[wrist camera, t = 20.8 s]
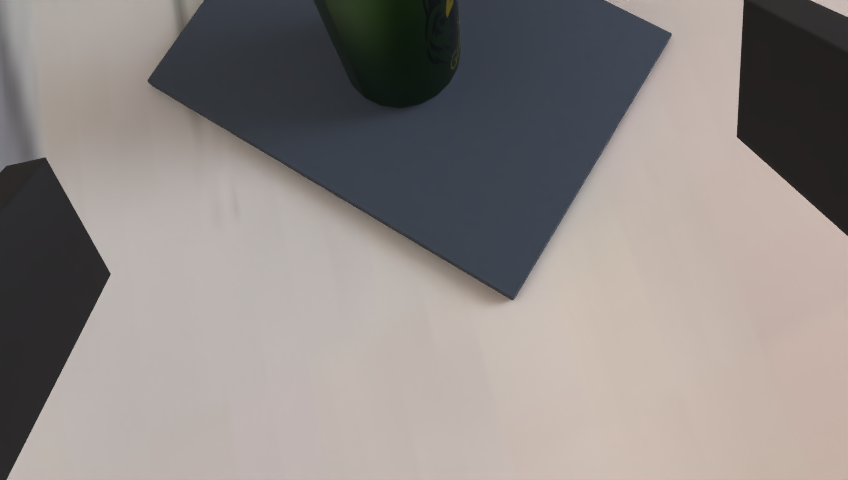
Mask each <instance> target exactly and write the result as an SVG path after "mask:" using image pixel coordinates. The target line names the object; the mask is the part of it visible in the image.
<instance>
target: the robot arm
mask: <svg viewBox="0 0 848 480" xmlns="http://www.w3.org/2000/svg"><path fill="white" fill-rule="evenodd" d="M737 137H738V138H739V139H740V140H741V141H742V142H743V143H744V144H745V145H747V146H748V147H749V148H750V149H751V150H752V151H753V152H754V153H756V154H757V155H758V156H759V157H760V158H761V159H762V160H763V161H764V162H766V163H767V164H768V165H769V166H770V167H771V168H772V169H773V170H775V171H776V172H777V173H778V174H779V175H780V176H781V177H782V178H784V179H785V180H786V181H787V182H788V183H789V184H790V185H791V186H792V187H794V188H795V189H796V190H797V191H798V192H799V193H800V194H801V195H803V196H804V197H805V198H806V199H807V200H808V201H809V202H810V203H811V204H813V205H814V206H815V207H816V208H817V209H818V210H819V211H820V212H822V213H823V214H824V215H825V216H826V217H827V218H828V219H829V220H830V221H832V222H833V223H834V224H835V225H836V226H837V227H838V228H839V229H841V230H842V231H843V232H844V233H845V234H846V235H847V236H848V17H846V16H844V15H842V14H839V13H837V12H835V11H833V10H830V9H828V8H826V7H824V6H822V5H819V4H817V3H815V2H813V1H811V0H744V8H743V27H742V47H741V67H740V86H739V106H738V125H737ZM109 276H110V272H109V270H108V268H107V267H106V265H105V263H104V261H103V259H102V258H101V256H100V254H99V252H98V250H97V249H96V247H95V245H94V243H93V242H92V240H91V238H90V236H89V234H88V233H87V231H86V229H85V227H84V225H83V224H82V222H81V220H80V218H79V217H78V215H77V213H76V211H75V209H74V208H73V206H72V204H71V202H70V200H69V199H68V197H67V195H66V193H65V192H64V190H63V188H62V186H61V184H60V183H59V181H58V179H57V177H56V175H55V174H54V172H53V170H52V168H51V167H50V165H49V163H48V161H47V159H46V158H41V159H36V160H32V161H27V162H23V163H19V164H14V165H10V166H6V167H5V168H4V169H3V170H2V171H1V172H0V480H7V478H8V476H9V474H10V472H11V470H12V468H13V466H14V464H15V462H16V460H17V458H18V456H19V454H20V452H21V450H22V448H23V446H24V444H25V442H26V440H27V438H28V436H29V434H30V432H31V430H32V428H33V426H34V424H35V422H36V420H37V418H38V416H39V414H40V412H41V410H42V409H43V407H44V405H45V403H46V401H47V399H48V397H49V395H50V393H51V391H52V389H53V387H54V385H55V383H56V381H57V379H58V377H59V375H60V373H61V371H62V369H63V367H64V365H65V363H66V361H67V359H68V357H69V355H70V353H71V351H72V349H73V347H74V345H75V343H76V341H77V340H78V338H79V336H80V334H81V332H82V330H83V328H84V326H85V324H86V322H87V320H88V318H89V316H90V314H91V312H92V310H93V308H94V306H95V304H96V302H97V300H98V298H99V296H100V294H101V292H102V290H103V288H104V286H105V284H106V282H107V280H108V278H109Z"/></svg>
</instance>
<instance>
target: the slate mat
mask: <svg viewBox="0 0 848 480" xmlns="http://www.w3.org/2000/svg"><path fill="white" fill-rule="evenodd" d="M458 13H459V27H460V42H461V53H460V59H459V65H458V69H457V70H456V72H455V74H454V76H453V78H452V80H451V81H450V83H449V84H448V85H447V86H446V87H445V88H444V89H443V90H442V91H441V92H440V93H439V94H438V95H437V96H436V97H434V98H432V99H430V100H428V101H426V102H424V103H422V104H420V105H417V106H411V107H405V108H396V107H388V106H381V105H379V104H377V103H375V102H373V101H370V100H368V99H366V98H365V97H363V96H362V95H361V94H360V93H359V92H358V91H357V90H356V89H355V88H354V87H353V86H352V84H351V82H350V80H349V78H348V76H347V75H346V73H345V71H344V68H343V66H342V64H341V62H340V59H339V57H338V55H337V53H336V50H335V48H334V46H333V44H332V41H331V39H330V37H329V35H328V32H327V30H326V28H325V25H324V23H323V21H322V19H321V16H320V14H319V12H318V10H317V7H316V5H315V3H314V1H313V0H204V2H203V3H202V4H201V6H200V7H199V9H198V10H197V12H196V13H195V14H194V16H193V17H192V19H191V20H190V21H189V23H188V24H187V26H186V27H185V28H184V30H183V31H182V33H181V34H180V35H179V37H178V38H177V40H176V41H175V42H174V44H173V45H172V47H171V48H170V49H169V51H168V52H167V54H166V55H165V56H164V58H163V59H162V61H161V62H160V64H159V65H158V66H157V68H156V69H155V71H154V72H153V73H152V75H151V76H150V78H149V79H148V82H149V83H150V84H151V85H152V86H153V87H155V88H157V89H159V90H160V91H162V92H164V93H165V94H167V95H169V96H170V97H172V98H174V99H175V100H177V101H179V102H180V103H182V104H184V105H185V106H187V107H189V108H190V109H192V110H194V111H195V112H197V113H199V114H200V115H202V116H204V117H206V118H207V119H209V120H211V121H212V122H214V123H216V124H217V125H219V126H221V127H222V128H224V129H226V130H227V131H229V132H231V133H232V134H234V135H236V136H237V137H239V138H241V139H242V140H244V141H246V142H247V143H249V144H251V145H253V146H254V147H256V148H258V149H259V150H261V151H263V152H264V153H266V154H268V155H269V156H271V157H273V158H274V159H276V160H278V161H279V162H281V163H283V164H284V165H286V166H288V167H289V168H291V169H293V170H294V171H296V172H298V173H300V174H301V175H303V176H305V177H306V178H308V179H310V180H311V181H313V182H315V183H316V184H318V185H320V186H321V187H323V188H325V189H326V190H328V191H330V192H331V193H333V194H335V195H336V196H338V197H340V198H341V199H343V200H345V201H347V202H348V203H350V204H352V205H353V206H355V207H357V208H358V209H360V210H362V211H363V212H365V213H367V214H368V215H370V216H372V217H373V218H375V219H377V220H378V221H380V222H382V223H383V224H385V225H387V226H388V227H390V228H392V229H394V230H395V231H397V232H399V233H400V234H402V235H404V236H405V237H407V238H409V239H410V240H412V241H414V242H415V243H417V244H419V245H420V246H422V247H424V248H425V249H427V250H429V251H430V252H432V253H434V254H435V255H437V256H439V257H441V258H442V259H444V260H446V261H447V262H449V263H451V264H452V265H454V266H456V267H457V268H459V269H461V270H462V271H464V272H466V273H467V274H469V275H471V276H472V277H474V278H476V279H477V280H479V281H481V282H482V283H484V284H486V285H488V286H489V287H491V288H493V289H494V290H496V291H498V292H499V293H501V294H503V295H504V296H506V297H508V298H509V299H511V300H514V298H515V297H516V295H517V293H518V292H519V290H520V288H521V287H522V285H523V283H524V282H525V280H526V278H527V277H528V275H529V273H530V272H531V270H532V268H533V267H534V265H535V263H536V262H537V260H538V258H539V257H540V255H541V253H542V252H543V250H544V248H545V247H546V245H547V243H548V242H549V240H550V238H551V237H552V235H553V233H554V232H555V230H556V228H557V226H558V225H559V223H560V221H561V220H562V218H563V216H564V215H565V213H566V211H567V210H568V208H569V206H570V205H571V203H572V201H573V200H574V198H575V196H576V195H577V193H578V191H579V190H580V188H581V186H582V185H583V183H584V181H585V180H586V178H587V176H588V175H589V173H590V171H591V170H592V168H593V166H594V165H595V163H596V161H597V160H598V158H599V156H600V155H601V153H602V151H603V150H604V148H605V146H606V145H607V143H608V141H609V140H610V138H611V136H612V135H613V133H614V131H615V129H616V128H617V126H618V124H619V123H620V121H621V119H622V118H623V116H624V114H625V113H626V111H627V109H628V108H629V106H630V104H631V103H632V101H633V99H634V98H635V96H636V94H637V93H638V91H639V89H640V88H641V86H642V84H643V83H644V81H645V79H646V78H647V76H648V74H649V73H650V71H651V69H652V68H653V66H654V64H655V63H656V61H657V59H658V58H659V56H660V54H661V53H662V51H663V49H664V48H665V46H666V44H667V43H668V41H669V39H670V37H671V35H672V34H671V33H669V32H667V31H665V30H663V29H661V28H659V27H657V26H655V25H653V24H651V23H649V22H647V21H645V20H643V19H641V18H639V17H637V16H635V15H633V14H631V13H629V12H627V11H625V10H623V9H621V8H619V7H617V6H615V5H613V4H611V3H609V2H607V1H605V0H458Z"/></svg>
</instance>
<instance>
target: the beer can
mask: <svg viewBox="0 0 848 480" xmlns="http://www.w3.org/2000/svg"><path fill="white" fill-rule="evenodd" d="M313 1H314V3H315V5H316V7H317V10H318V12H319V14H320V16H321V19H322V21H323V23H324V25H325V28H326V30H327V32H328V35H329V37H330V39H331V41H332V44H333V46H334V48H335V50H336V53H337V55H338V57H339V59H340V62H341V64H342V66H343V68H344V71H345V73H346V75H347V76H348V78H349V80H350V82H351V84H352V86H353V87H354V88H355V89H356V90H357V91H358V92H359V93H360V94H361V95H362V96H363V97H365V98H366V99H368V100H370V101H373V102H375V103H377V104H379V105H381V106H388V107H396V108H405V107H411V106H417V105H420V104H422V103H424V102H426V101H428V100H430V99H432V98H434V97H436V96H437V95H438V94H439V93H440V92H441V91H442V90H443V89H444V88H445V87H446V86H447V85H448V84H449V83H450V81H451V80H452V78H453V76H454V74H455V72H456V70H457V69H458V65H459V59H460V53H461V42H460V27H459V13H458V0H313Z"/></svg>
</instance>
